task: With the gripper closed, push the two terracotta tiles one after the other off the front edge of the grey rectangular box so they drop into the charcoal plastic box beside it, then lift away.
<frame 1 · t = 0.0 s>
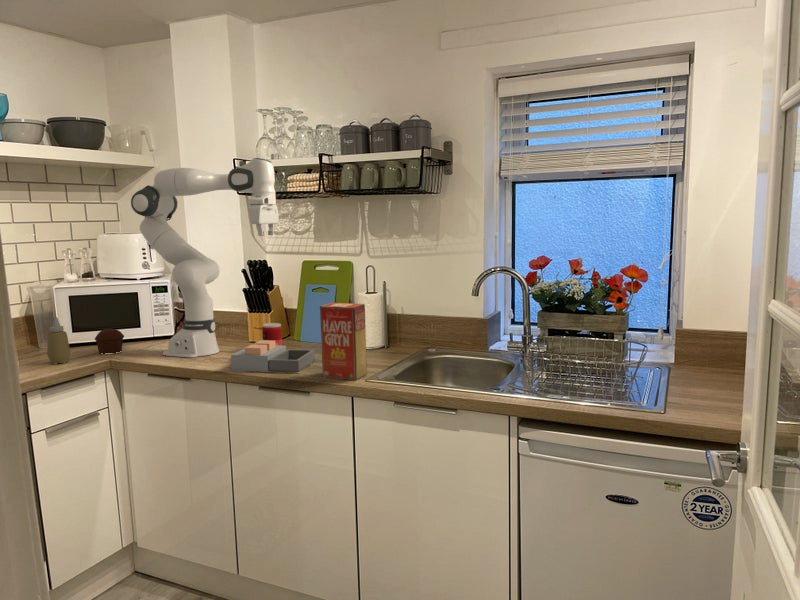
hand: (265, 235, 243), 48 cm above the worktop, tool pointing down, fingers open, 8 cm apart
squeeze bottle: (59, 363, 242), on the worktop
grey rectangular box: (260, 365, 230), on the worktop
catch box: (293, 366, 228), on the worktop
muffin: (110, 352, 260), on the worktop
food packaging: (344, 376, 213), on the worktop
canned food: (272, 350, 258), on the worktop
tile b: (265, 348, 232), point 6 cm above the worktop, touching grey rectangular box
tile a: (256, 352, 224), point 6 cm above the worktop, touching grey rectangular box
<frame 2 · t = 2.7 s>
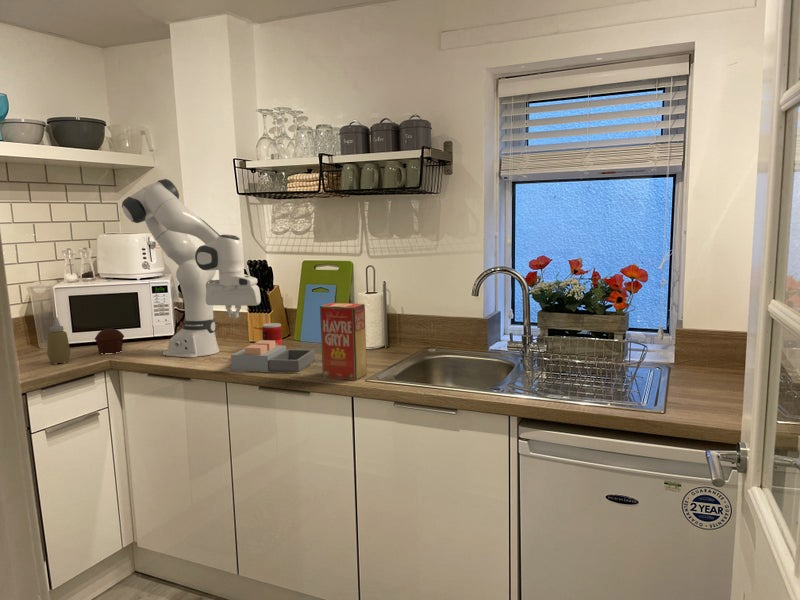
hand: (233, 317, 224), 19 cm above the worktop, tool pointing down, fingers closed
nothing on the worktop moved.
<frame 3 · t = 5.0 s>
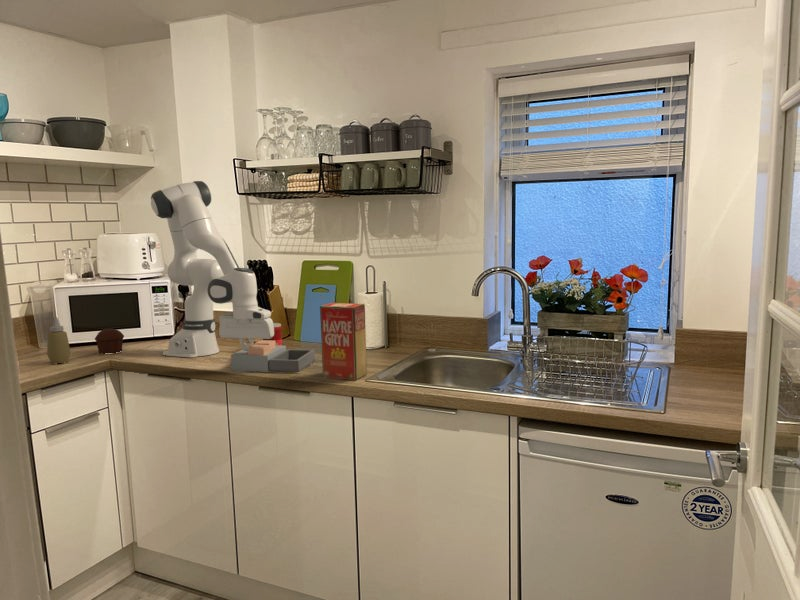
hand: (247, 350, 224), 7 cm above the worktop, tool pointing down, fingers closed
tile a: (259, 353, 224), point 6 cm above the worktop, touching grey rectangular box, gripper
everything else where it was.
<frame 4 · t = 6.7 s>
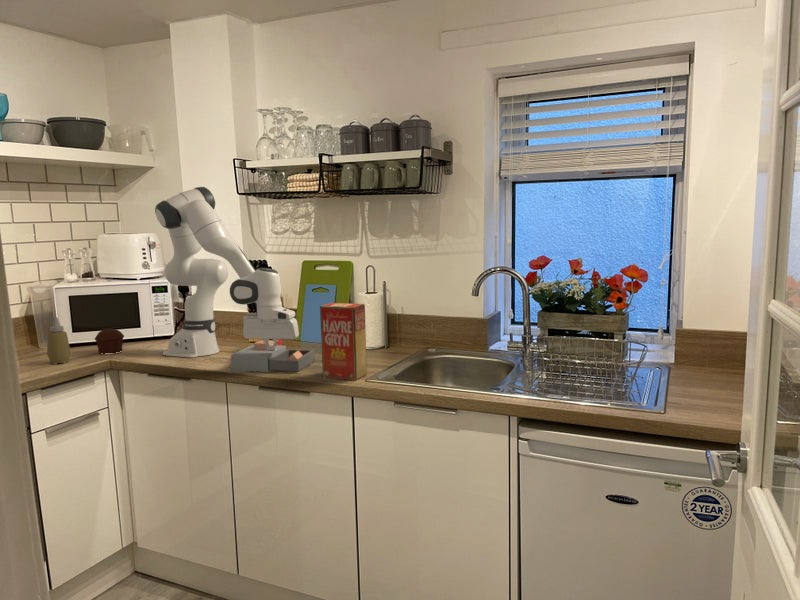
hand: (271, 350, 223), 7 cm above the worktop, tool pointing down, fingers closed
tile a: (289, 357, 222), point 5 cm above the worktop, tilted 140°, touching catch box
everything else where it was.
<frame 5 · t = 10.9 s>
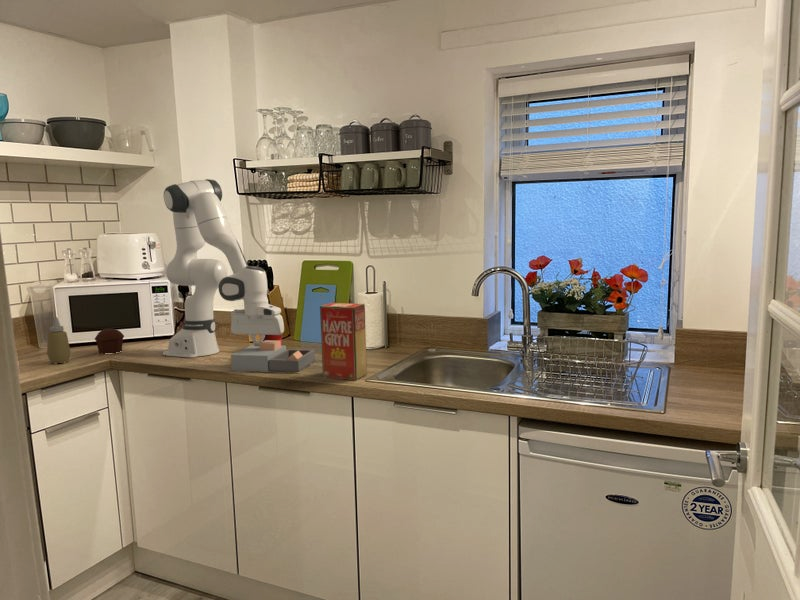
hand: (258, 345, 232), 7 cm above the worktop, tool pointing down, fingers closed
tile b: (270, 348, 232), point 6 cm above the worktop, touching gripper
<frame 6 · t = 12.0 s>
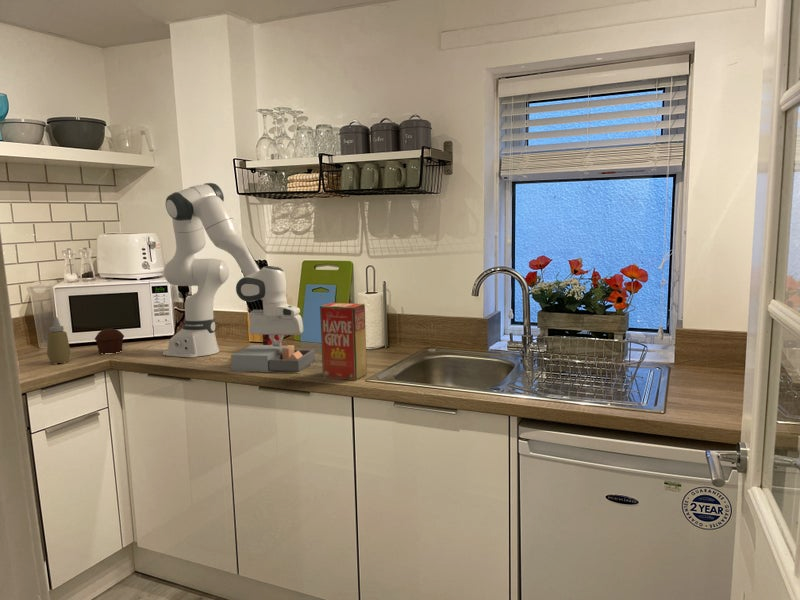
hand: (277, 346, 231), 7 cm above the worktop, tool pointing down, fingers closed
tile b: (285, 354, 231), point 4 cm above the worktop, tilted 90°, touching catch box
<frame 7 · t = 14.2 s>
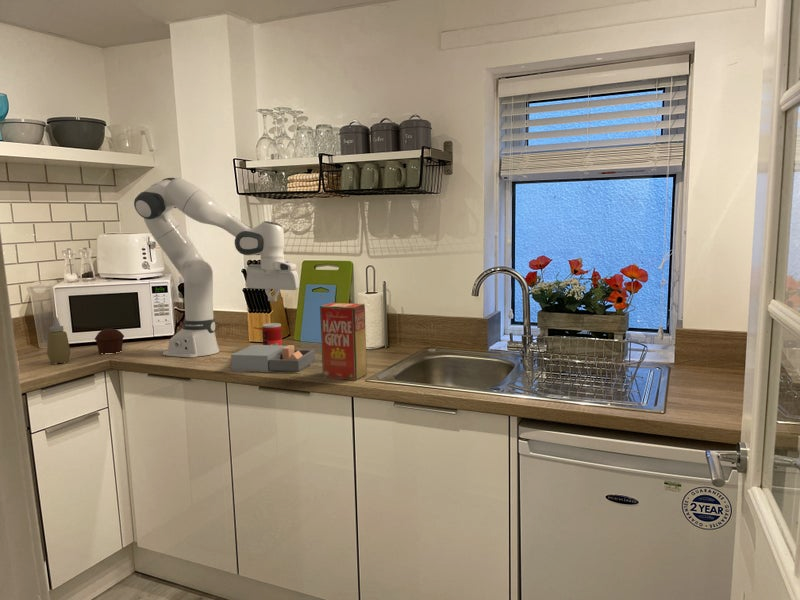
hand: (272, 300, 235), 23 cm above the worktop, tool pointing down, fingers closed
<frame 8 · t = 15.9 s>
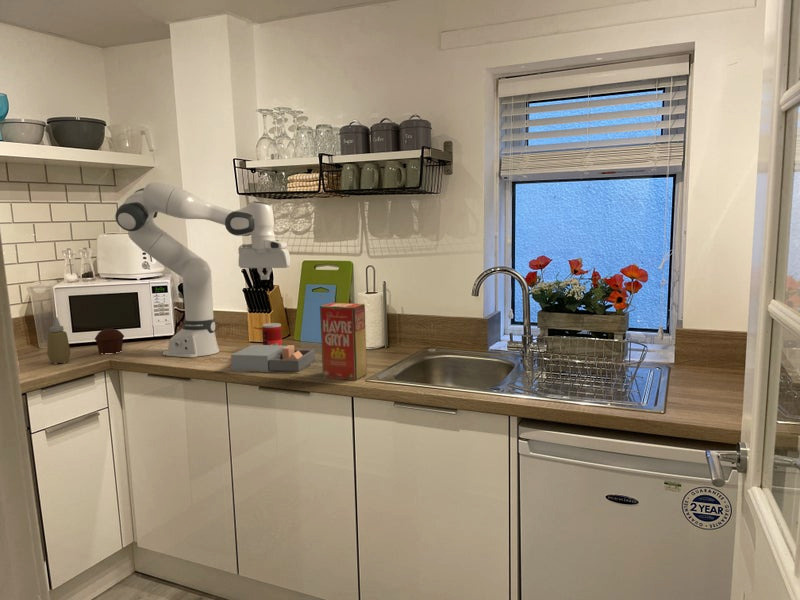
hand: (265, 279, 239), 31 cm above the worktop, tool pointing down, fingers closed
at the end: tile a inside the target area on the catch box (4.7 cm from its centre), point 4.6 cm above the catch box's base; tile b inside the target area on the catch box (5.2 cm from its centre), point 3.8 cm above the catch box's base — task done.
